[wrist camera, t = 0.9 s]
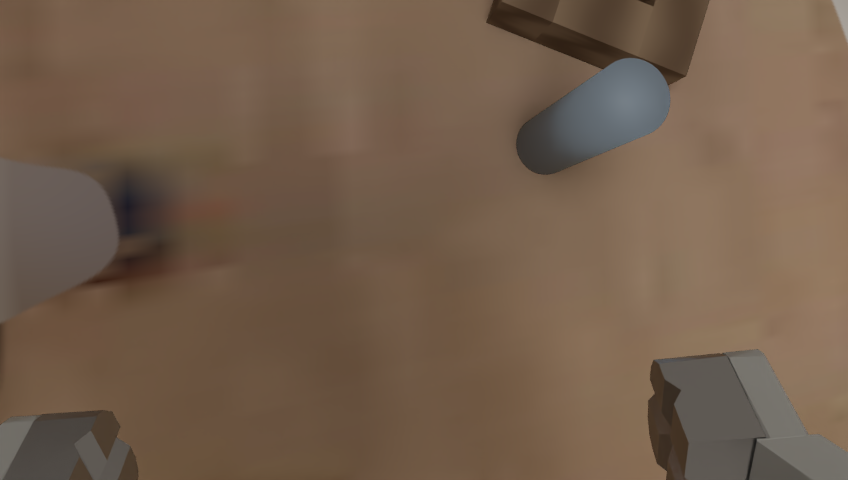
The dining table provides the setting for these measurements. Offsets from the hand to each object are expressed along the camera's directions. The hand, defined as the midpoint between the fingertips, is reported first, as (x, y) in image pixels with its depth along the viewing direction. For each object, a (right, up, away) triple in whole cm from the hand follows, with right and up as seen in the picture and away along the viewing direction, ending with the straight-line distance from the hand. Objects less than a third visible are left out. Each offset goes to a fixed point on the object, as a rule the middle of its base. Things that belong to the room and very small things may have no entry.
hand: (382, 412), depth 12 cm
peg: (+9, +9, +41) cm, 43 cm away
